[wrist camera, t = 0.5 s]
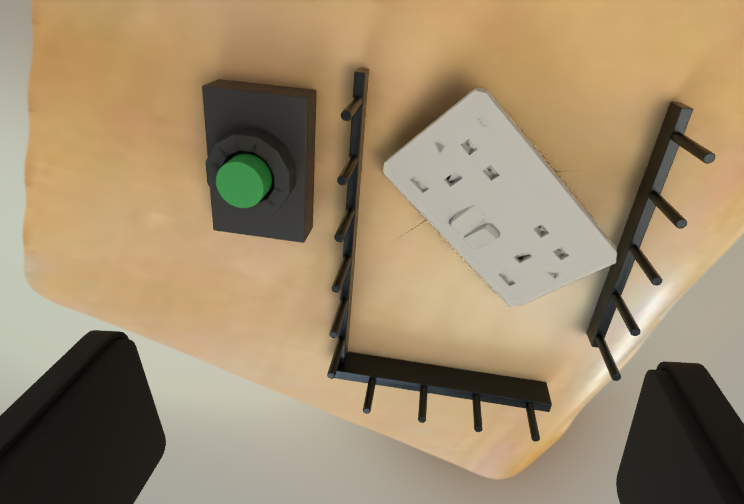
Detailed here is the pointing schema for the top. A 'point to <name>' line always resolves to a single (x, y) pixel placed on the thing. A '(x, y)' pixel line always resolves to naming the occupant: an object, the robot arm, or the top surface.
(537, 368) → the top surface
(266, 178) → the button
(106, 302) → the top surface
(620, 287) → the dish rack
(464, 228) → the wall socket
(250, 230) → the control block
